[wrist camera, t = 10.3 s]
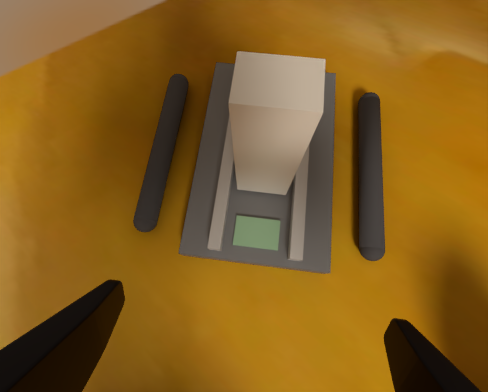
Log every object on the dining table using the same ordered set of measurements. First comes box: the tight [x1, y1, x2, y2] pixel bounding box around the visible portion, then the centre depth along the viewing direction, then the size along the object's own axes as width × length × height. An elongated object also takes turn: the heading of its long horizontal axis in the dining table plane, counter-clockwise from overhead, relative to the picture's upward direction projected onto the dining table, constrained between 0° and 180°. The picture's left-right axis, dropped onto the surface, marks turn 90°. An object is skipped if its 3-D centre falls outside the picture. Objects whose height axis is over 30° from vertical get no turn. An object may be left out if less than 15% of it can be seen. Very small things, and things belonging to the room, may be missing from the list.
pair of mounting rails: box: [133, 74, 385, 261], centre depth 20 cm, size 14×18×2 cm
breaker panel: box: [179, 62, 336, 274], centre depth 20 cm, size 16×10×2 cm, turn 173°
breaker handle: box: [228, 51, 325, 195], centre depth 14 cm, size 2×3×10 cm
